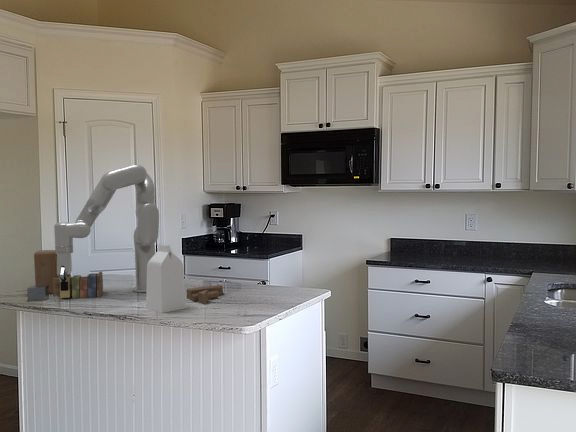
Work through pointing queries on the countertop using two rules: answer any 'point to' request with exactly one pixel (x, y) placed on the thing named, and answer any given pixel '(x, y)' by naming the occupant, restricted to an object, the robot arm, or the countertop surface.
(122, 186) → the robot arm
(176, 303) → the milk
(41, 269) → the wooden block
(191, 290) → the wooden block set
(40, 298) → the grey stone cube
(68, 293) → the tan rectangular block
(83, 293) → the rack
